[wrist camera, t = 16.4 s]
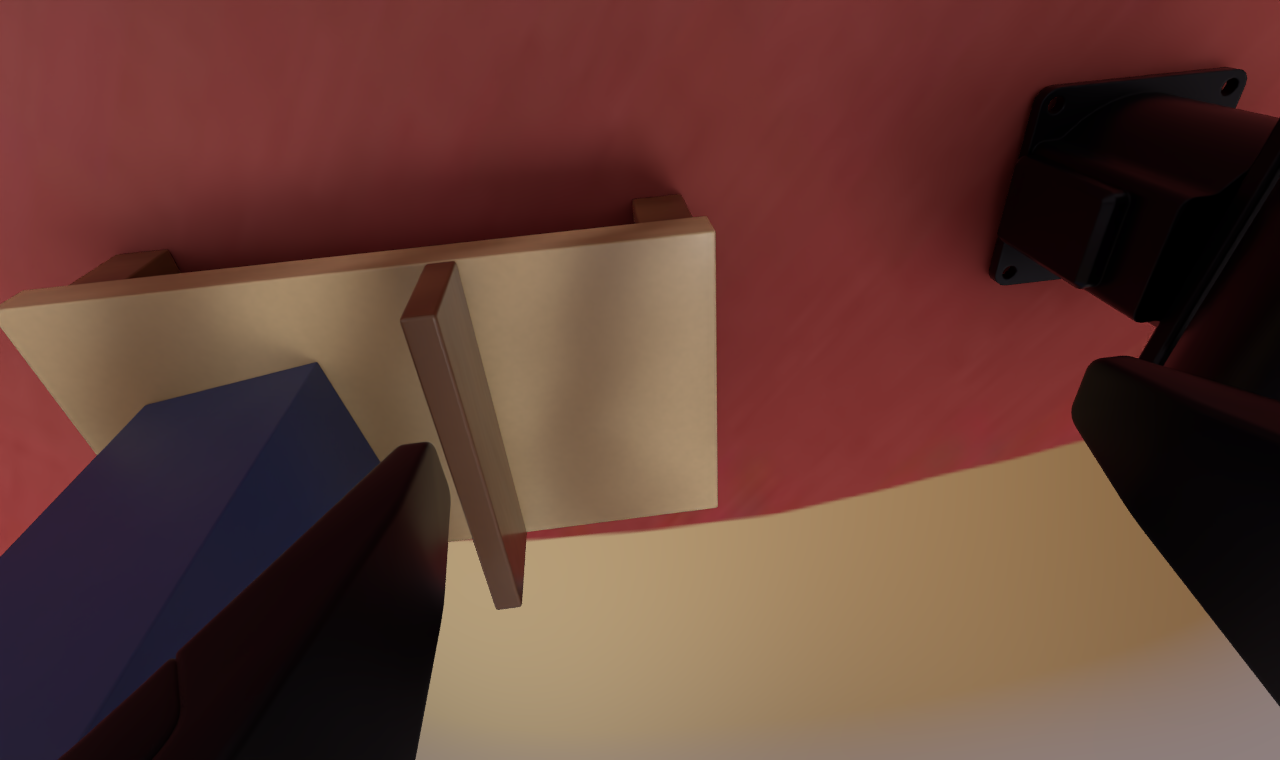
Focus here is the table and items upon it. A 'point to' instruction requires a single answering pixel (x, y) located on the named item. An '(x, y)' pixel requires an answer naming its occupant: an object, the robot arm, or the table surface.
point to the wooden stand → (436, 362)
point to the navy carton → (162, 544)
